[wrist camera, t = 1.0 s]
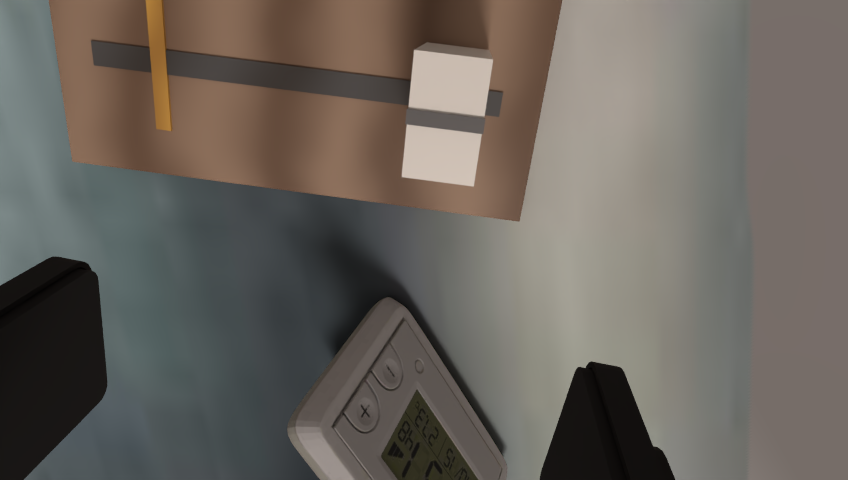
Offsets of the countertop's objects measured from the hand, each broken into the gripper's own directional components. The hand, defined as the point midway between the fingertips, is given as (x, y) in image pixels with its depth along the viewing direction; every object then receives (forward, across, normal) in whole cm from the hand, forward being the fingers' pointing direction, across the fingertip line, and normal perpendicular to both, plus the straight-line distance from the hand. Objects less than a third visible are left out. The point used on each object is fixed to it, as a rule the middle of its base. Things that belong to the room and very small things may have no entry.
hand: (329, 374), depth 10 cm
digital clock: (+22, -2, +17) cm, 28 cm away
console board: (+21, +7, -2) cm, 22 cm away
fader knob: (+19, -1, -3) cm, 19 cm away
